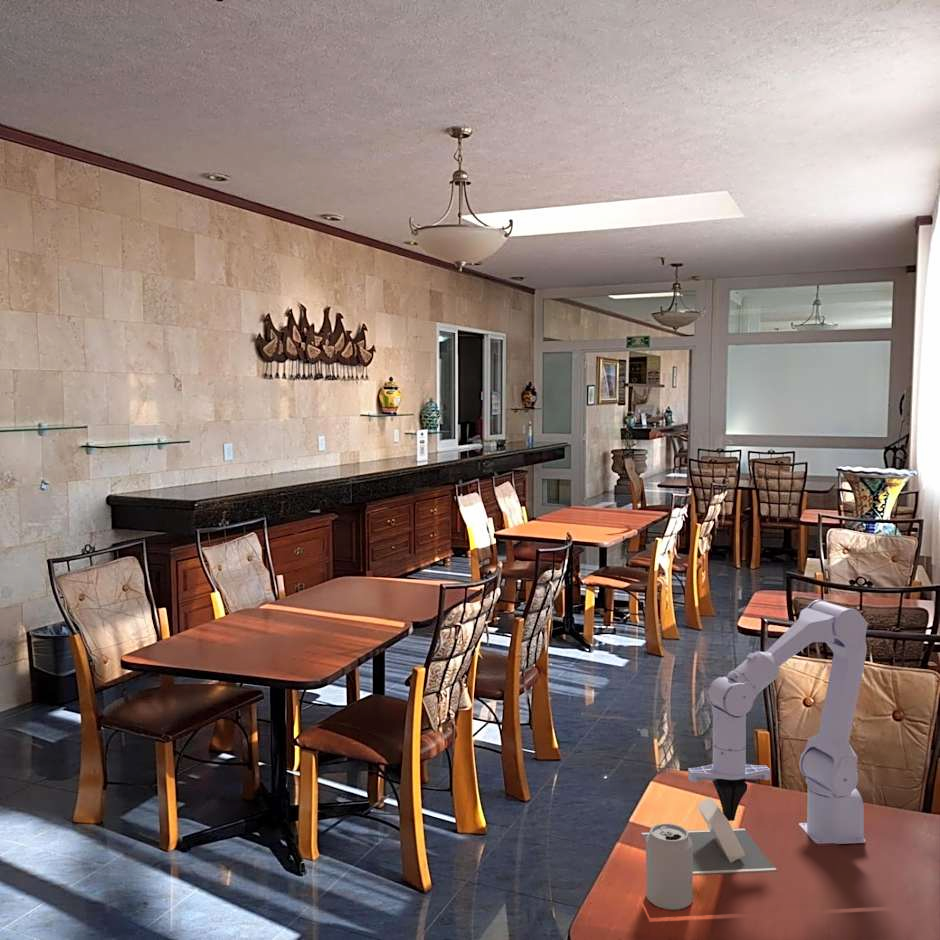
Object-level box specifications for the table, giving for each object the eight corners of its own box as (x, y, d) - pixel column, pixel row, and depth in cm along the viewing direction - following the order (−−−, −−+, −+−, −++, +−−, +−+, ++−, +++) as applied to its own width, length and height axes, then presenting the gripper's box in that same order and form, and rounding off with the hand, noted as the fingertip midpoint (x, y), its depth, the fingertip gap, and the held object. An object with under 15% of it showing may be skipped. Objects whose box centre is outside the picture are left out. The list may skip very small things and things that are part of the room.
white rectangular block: (728, 830, 167) (710, 796, 166) (745, 854, 158) (727, 818, 157) (713, 838, 167) (696, 804, 166) (730, 862, 158) (712, 826, 157)
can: (666, 919, 142) (666, 846, 141) (636, 896, 148) (636, 826, 147) (702, 906, 145) (702, 835, 144) (672, 885, 152) (671, 816, 151)
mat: (743, 830, 171) (743, 827, 171) (777, 873, 155) (777, 870, 155) (640, 835, 170) (640, 832, 169) (663, 879, 154) (663, 875, 154)
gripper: (760, 735, 165) (759, 807, 166) (683, 738, 165) (683, 810, 165) (775, 750, 158) (774, 824, 159) (694, 753, 158) (694, 827, 158)
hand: (728, 818), depth 162 cm, fingers closed
